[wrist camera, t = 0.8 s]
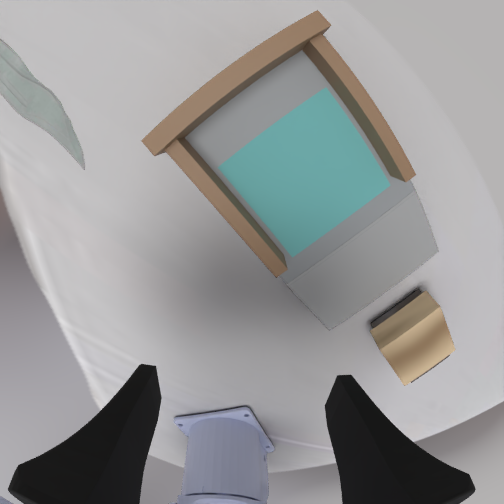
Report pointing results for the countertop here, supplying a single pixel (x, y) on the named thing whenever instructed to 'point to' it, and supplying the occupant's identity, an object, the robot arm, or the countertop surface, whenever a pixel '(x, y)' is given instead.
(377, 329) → the tan cardboard box
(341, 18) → the countertop surface
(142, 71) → the countertop surface
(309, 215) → the bay pad
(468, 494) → the robot arm
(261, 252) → the dock
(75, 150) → the knife
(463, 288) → the countertop surface
